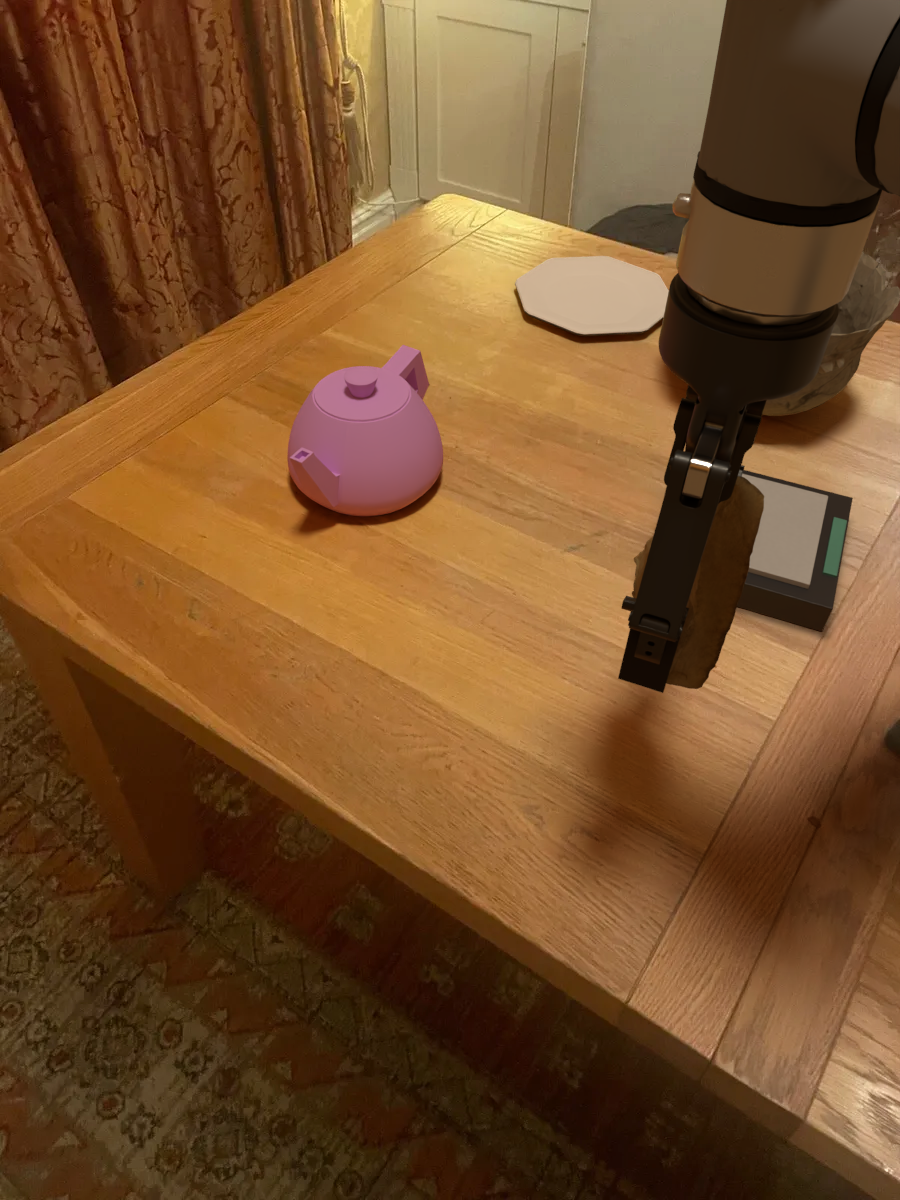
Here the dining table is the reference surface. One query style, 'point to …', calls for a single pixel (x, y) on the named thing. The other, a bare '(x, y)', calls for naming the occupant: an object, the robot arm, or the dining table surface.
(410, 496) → the teapot
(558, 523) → the dining table surface
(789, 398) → the bowl
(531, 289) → the plate
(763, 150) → the robot arm
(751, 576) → the scale
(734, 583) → the rock
